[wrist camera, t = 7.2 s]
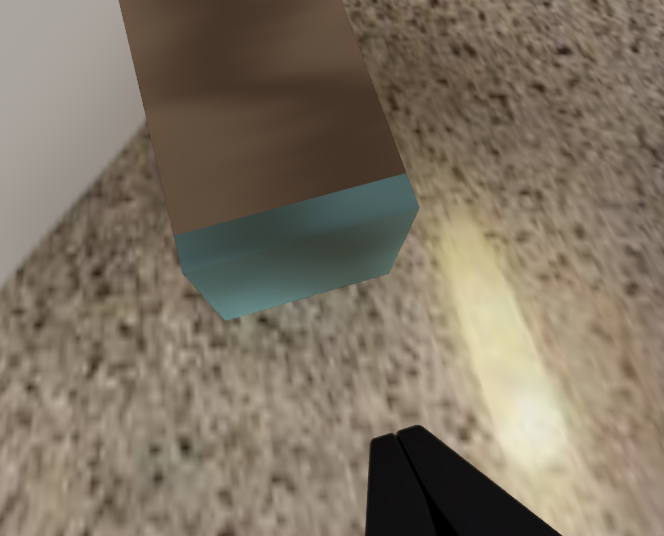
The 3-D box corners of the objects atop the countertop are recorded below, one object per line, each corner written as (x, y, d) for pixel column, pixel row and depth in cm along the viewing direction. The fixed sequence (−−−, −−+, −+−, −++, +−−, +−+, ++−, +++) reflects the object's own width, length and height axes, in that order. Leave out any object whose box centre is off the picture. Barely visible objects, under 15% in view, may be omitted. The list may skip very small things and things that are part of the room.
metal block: (388, 273, 19) (310, 48, 22) (419, 208, 13) (308, -89, 16) (225, 321, 18) (165, 82, 21) (182, 273, 13) (107, -47, 15)
